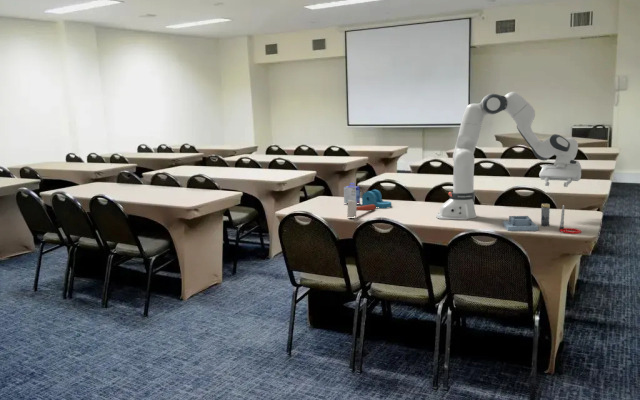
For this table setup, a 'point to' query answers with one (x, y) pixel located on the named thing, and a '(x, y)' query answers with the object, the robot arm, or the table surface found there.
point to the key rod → (545, 214)
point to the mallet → (358, 208)
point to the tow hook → (563, 230)
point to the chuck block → (520, 224)
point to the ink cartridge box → (351, 193)
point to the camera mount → (374, 199)
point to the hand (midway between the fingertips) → (555, 185)
